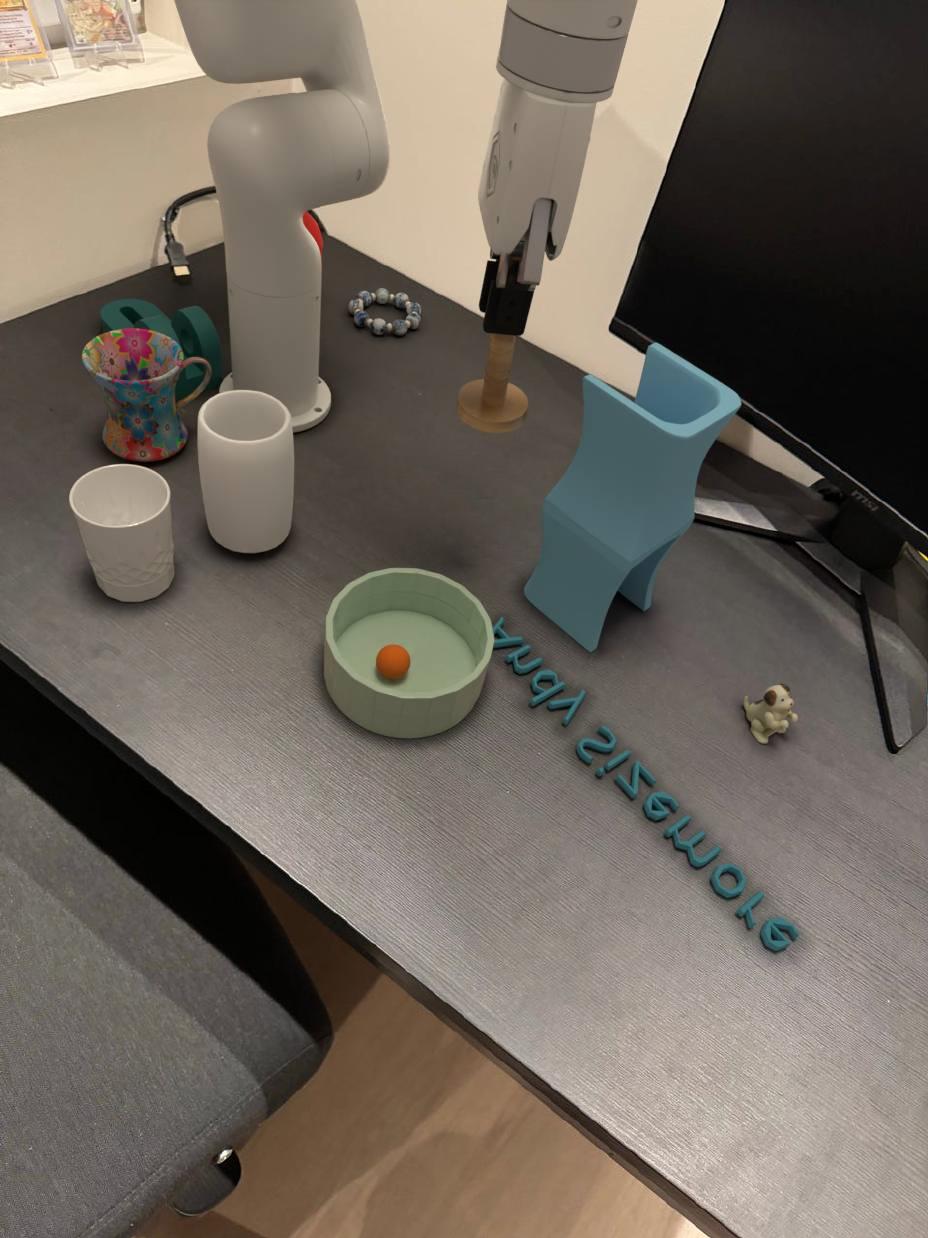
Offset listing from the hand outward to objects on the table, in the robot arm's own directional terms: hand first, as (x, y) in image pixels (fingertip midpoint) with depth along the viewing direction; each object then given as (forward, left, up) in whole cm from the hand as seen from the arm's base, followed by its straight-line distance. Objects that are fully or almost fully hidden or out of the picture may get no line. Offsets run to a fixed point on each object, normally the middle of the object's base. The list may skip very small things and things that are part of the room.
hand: (500, 320), depth 66 cm
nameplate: (+25, +12, -27) cm, 38 cm away
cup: (-3, -20, -27) cm, 34 cm away
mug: (-17, -30, -27) cm, 44 cm away
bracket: (-33, -32, -27) cm, 53 cm away
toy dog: (+20, +27, -27) cm, 43 cm away
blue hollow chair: (+5, +13, -27) cm, 30 cm away
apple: (-49, -17, -27) cm, 58 cm away
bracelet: (-45, -4, -27) cm, 53 cm away
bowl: (+14, -6, -27) cm, 31 cm away
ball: (+15, -7, -24) cm, 29 cm away
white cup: (+3, -30, -27) cm, 40 cm away
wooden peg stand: (0, +1, -8) cm, 9 cm away
